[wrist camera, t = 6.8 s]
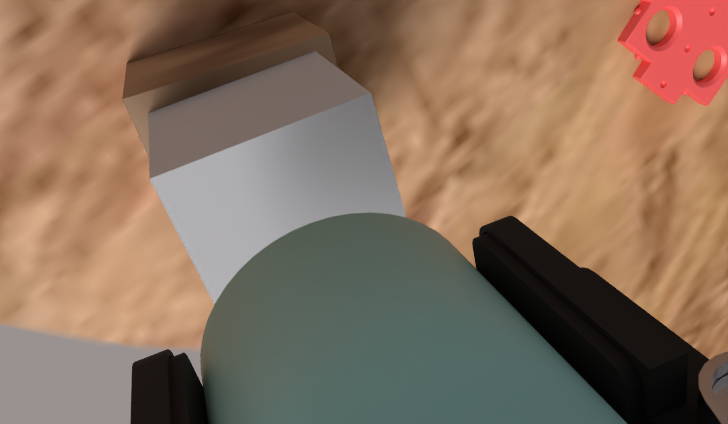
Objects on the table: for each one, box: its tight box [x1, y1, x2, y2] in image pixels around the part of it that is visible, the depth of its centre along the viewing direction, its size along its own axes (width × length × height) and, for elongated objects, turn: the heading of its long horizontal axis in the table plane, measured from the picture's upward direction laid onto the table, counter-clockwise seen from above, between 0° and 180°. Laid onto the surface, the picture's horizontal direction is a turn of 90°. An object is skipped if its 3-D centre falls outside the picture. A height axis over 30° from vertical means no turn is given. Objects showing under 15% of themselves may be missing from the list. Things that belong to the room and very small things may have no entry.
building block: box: [617, 0, 728, 106], centre depth 27 cm, size 1×8×8 cm
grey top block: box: [148, 51, 406, 304], centre depth 16 cm, size 5×5×5 cm
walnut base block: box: [123, 12, 338, 157], centre depth 20 cm, size 6×6×5 cm
